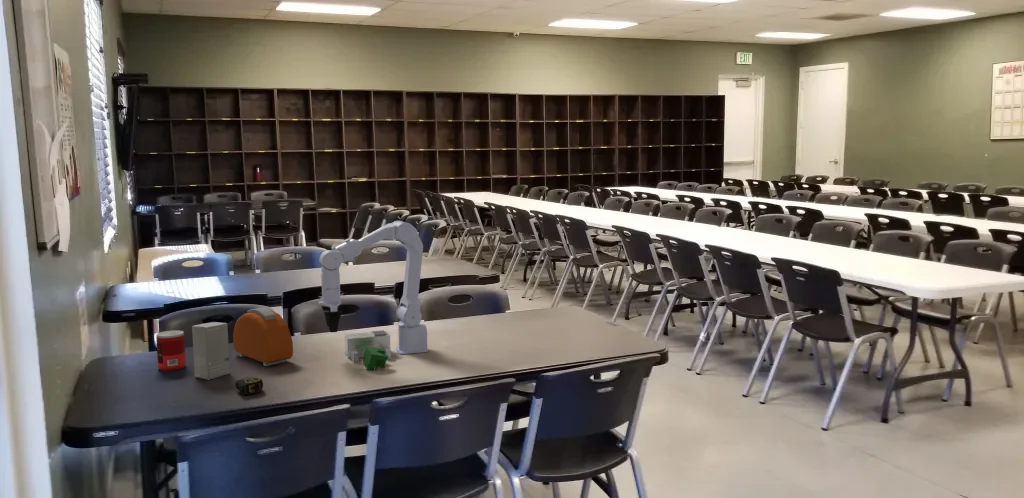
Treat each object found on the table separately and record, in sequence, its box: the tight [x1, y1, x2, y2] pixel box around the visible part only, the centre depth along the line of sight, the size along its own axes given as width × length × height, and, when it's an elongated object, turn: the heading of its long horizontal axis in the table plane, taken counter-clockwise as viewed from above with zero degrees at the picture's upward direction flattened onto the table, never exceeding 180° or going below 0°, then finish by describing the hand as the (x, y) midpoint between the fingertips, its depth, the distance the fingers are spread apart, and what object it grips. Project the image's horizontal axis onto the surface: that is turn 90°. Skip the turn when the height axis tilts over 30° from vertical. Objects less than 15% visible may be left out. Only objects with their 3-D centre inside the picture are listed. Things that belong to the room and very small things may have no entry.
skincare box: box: [191, 321, 231, 381], centre depth 226 cm, size 8×7×16 cm
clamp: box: [362, 346, 389, 371], centre depth 237 cm, size 11×6×8 cm, turn 14°
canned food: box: [155, 329, 187, 372], centre depth 234 cm, size 8×8×11 cm
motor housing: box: [344, 330, 392, 364], centre depth 248 cm, size 14×12×7 cm
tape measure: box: [234, 376, 264, 396], centre depth 211 cm, size 7×7×4 cm
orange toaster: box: [232, 307, 294, 367], centre depth 244 cm, size 23×9×17 cm, turn 47°
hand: (332, 329), depth 243 cm, fingers open, 7 cm apart
